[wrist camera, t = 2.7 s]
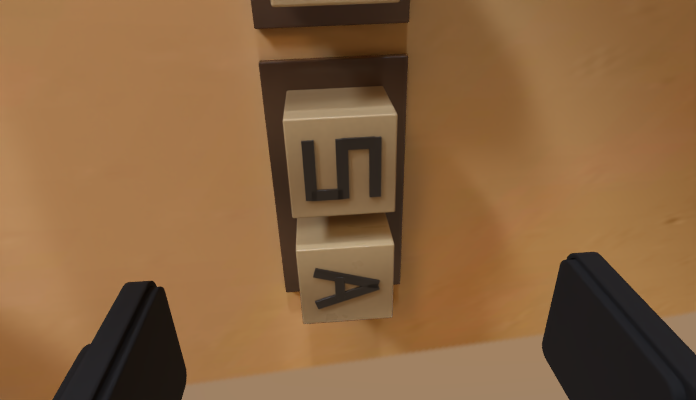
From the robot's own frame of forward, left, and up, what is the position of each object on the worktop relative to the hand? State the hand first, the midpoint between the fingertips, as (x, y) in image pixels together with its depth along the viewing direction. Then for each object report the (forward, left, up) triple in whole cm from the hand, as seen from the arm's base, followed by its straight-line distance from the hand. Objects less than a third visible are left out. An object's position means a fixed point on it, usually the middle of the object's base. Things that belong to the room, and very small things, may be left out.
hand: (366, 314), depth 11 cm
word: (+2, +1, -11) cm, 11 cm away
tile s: (0, 0, -11) cm, 11 cm away
